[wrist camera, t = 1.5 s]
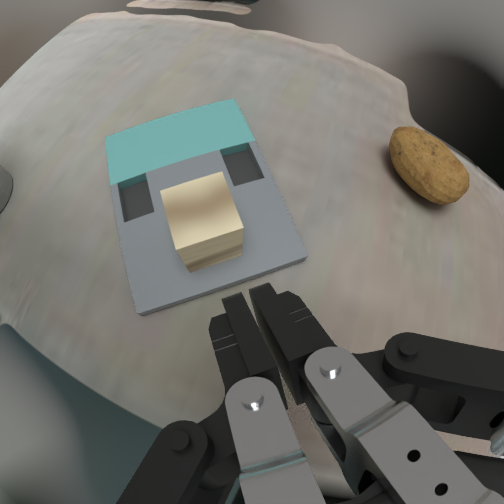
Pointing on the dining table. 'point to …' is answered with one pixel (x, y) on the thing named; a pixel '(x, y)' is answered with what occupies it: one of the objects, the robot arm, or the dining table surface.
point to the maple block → (203, 221)
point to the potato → (428, 165)
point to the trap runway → (183, 170)
